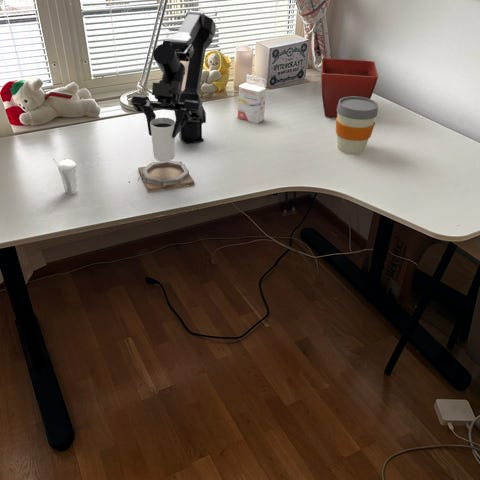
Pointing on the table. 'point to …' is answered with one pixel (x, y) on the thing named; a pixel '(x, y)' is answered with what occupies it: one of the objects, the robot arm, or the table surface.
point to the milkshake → (68, 176)
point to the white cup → (163, 138)
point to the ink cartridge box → (252, 99)
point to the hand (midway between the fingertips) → (161, 136)
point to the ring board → (165, 175)
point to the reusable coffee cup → (355, 123)
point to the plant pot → (346, 81)
